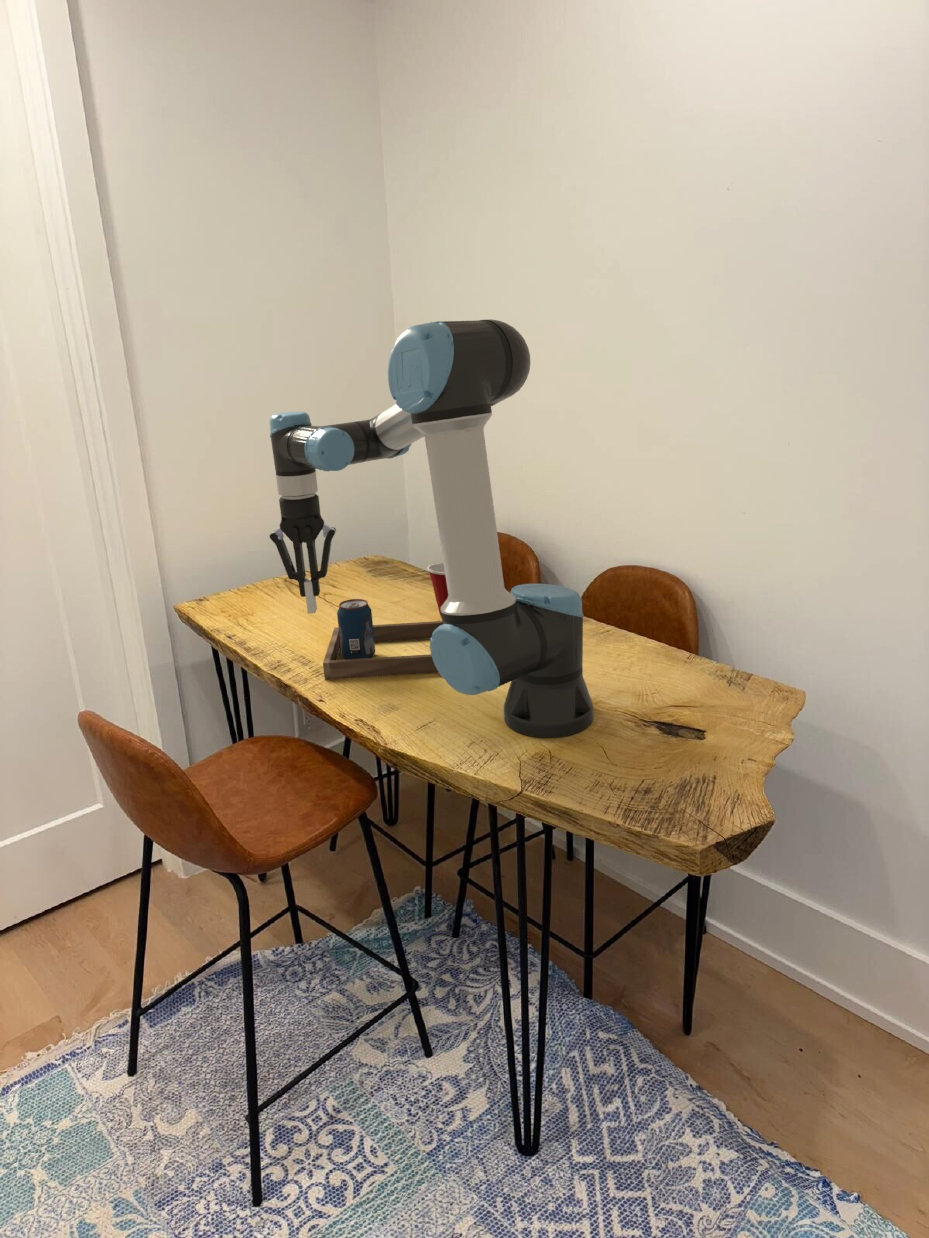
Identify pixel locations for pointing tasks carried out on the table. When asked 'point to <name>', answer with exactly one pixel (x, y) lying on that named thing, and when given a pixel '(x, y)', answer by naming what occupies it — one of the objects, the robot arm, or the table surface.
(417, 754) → the table surface
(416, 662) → the walnut tray frame
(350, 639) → the soda can
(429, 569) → the plastic cup
